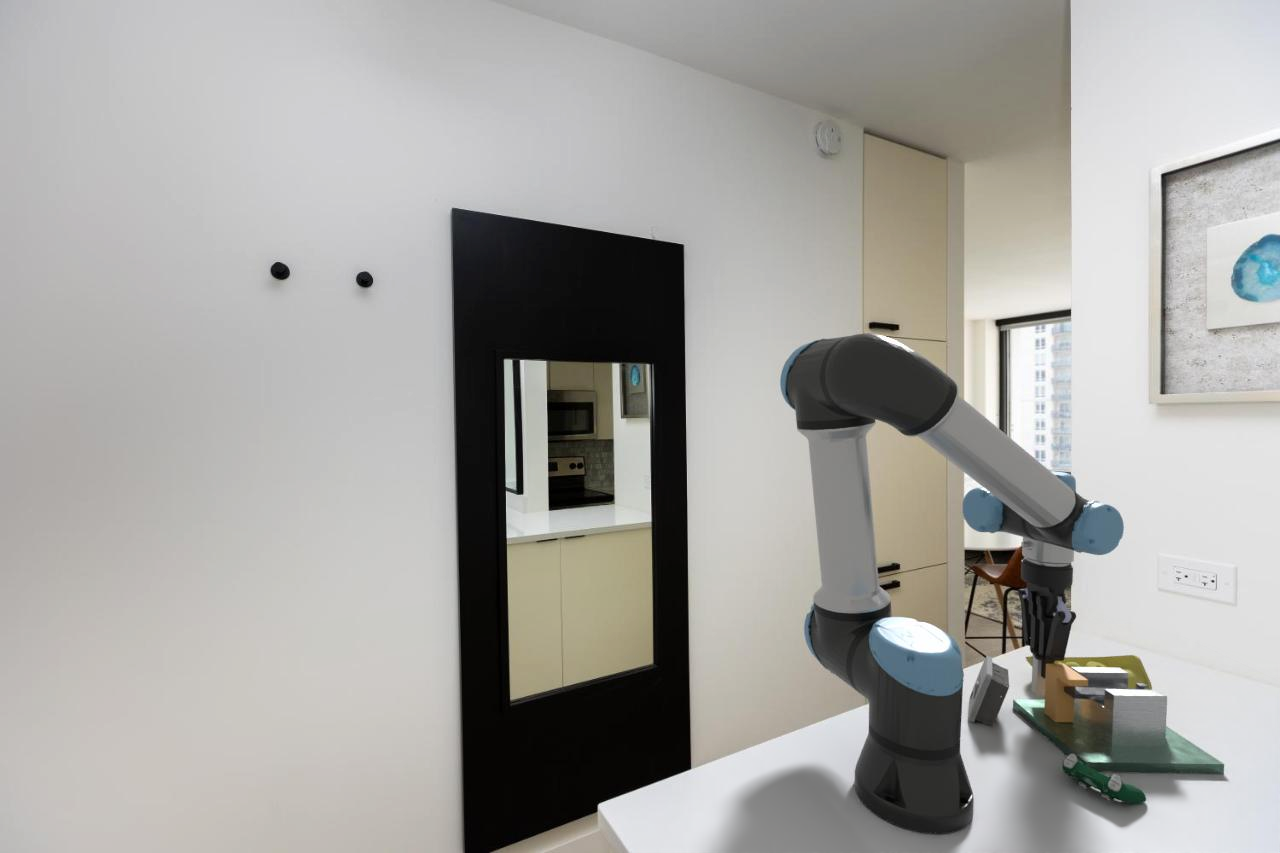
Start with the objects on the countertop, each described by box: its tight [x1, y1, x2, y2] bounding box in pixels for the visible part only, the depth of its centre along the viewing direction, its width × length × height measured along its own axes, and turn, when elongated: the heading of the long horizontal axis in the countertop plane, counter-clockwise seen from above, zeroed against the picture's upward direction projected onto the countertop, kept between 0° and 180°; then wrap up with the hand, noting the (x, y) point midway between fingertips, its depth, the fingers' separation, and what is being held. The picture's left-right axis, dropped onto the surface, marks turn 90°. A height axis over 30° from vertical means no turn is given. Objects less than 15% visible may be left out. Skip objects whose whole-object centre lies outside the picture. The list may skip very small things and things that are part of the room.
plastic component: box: [1025, 654, 1153, 690], centre depth 120 cm, size 20×7×10 cm
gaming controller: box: [1061, 754, 1147, 805], centre depth 88 cm, size 9×4×6 cm
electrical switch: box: [967, 655, 1010, 727], centre depth 109 cm, size 9×5×9 cm, turn 151°
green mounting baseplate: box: [1012, 667, 1225, 775], centre depth 102 cm, size 20×19×10 cm
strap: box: [1064, 687, 1148, 700], centre depth 102 cm, size 14×3×1 cm, turn 88°
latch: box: [1044, 664, 1088, 722], centre depth 104 cm, size 3×6×9 cm, turn 178°
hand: (1041, 692), depth 110 cm, fingers closed
